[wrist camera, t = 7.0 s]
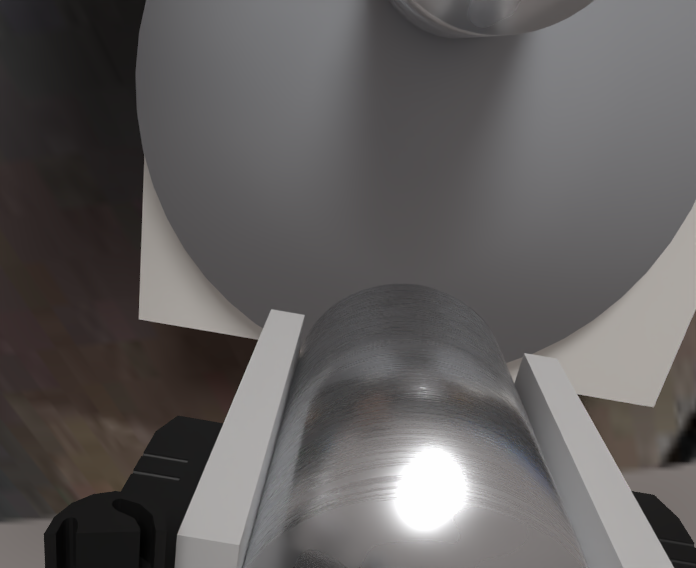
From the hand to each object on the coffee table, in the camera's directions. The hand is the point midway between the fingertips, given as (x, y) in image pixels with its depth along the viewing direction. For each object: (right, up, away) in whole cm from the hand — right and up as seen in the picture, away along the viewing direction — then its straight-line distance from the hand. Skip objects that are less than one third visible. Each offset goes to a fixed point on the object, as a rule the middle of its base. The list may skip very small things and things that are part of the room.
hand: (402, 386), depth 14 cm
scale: (+2, +9, +10) cm, 14 cm away
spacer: (0, 0, +1) cm, 1 cm away
